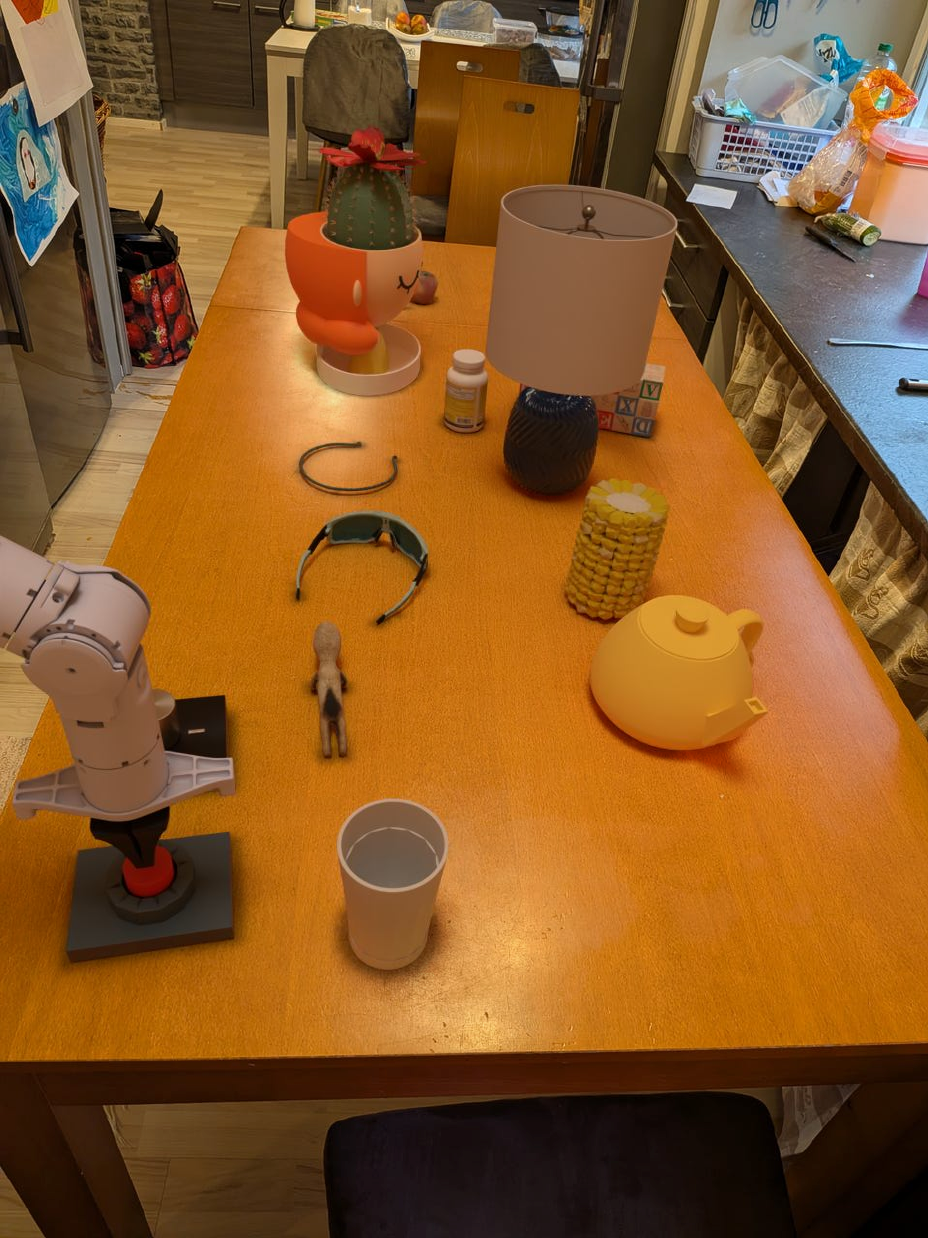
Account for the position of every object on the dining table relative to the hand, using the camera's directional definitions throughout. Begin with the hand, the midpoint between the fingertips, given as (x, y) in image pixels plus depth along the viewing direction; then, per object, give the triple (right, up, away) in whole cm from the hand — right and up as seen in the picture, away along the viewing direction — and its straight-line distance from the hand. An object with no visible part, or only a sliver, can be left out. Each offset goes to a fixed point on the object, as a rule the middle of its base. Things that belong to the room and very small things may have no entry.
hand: (145, 856), depth 68 cm
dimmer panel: (-4, +5, +15) cm, 16 cm away
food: (+41, +21, +39) cm, 60 cm away
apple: (+16, +79, +104) cm, 132 cm away
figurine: (+11, +10, +22) cm, 26 cm away
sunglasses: (+12, +23, +38) cm, 46 cm away
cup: (+18, -7, +3) cm, 20 cm away
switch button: (0, -2, +2) cm, 3 cm away
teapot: (+47, +8, +25) cm, 54 cm away
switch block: (0, -4, +4) cm, 6 cm away
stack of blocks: (+43, +50, +74) cm, 99 cm away
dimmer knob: (-3, +8, +13) cm, 15 cm away
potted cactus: (+6, +60, +81) cm, 101 cm away
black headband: (+8, +39, +56) cm, 68 cm away
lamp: (+36, +37, +58) cm, 78 cm away
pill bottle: (+24, +48, +69) cm, 87 cm away
